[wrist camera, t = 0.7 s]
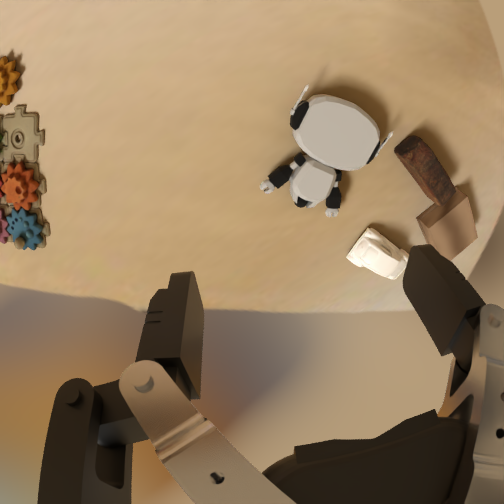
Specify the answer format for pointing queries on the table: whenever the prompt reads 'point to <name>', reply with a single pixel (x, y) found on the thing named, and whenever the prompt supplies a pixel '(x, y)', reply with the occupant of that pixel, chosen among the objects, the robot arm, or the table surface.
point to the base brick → (449, 225)
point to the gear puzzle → (19, 170)
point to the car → (378, 254)
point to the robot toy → (326, 149)
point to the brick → (425, 169)
